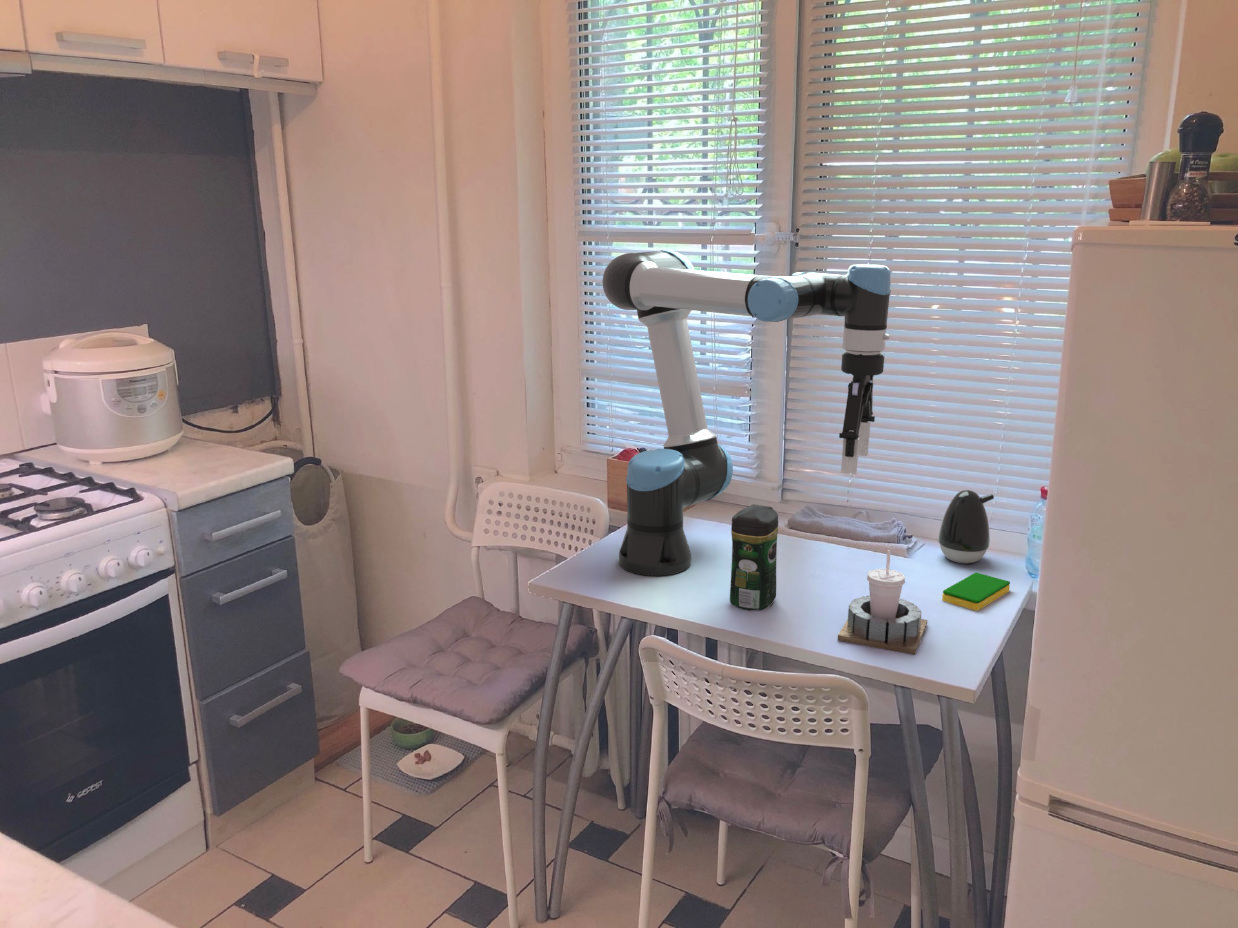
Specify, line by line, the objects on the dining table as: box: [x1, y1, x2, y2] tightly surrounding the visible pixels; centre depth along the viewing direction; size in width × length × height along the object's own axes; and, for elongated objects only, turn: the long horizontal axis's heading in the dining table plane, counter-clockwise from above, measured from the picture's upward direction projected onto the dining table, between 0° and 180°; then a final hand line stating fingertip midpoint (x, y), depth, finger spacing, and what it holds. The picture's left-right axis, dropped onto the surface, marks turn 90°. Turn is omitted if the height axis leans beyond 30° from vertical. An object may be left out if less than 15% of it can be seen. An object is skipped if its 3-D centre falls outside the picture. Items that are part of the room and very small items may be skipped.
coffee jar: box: [729, 504, 779, 612], centre depth 180 cm, size 10×8×19 cm
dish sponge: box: [941, 572, 1011, 612], centre depth 185 cm, size 7×14×2 cm, turn 134°
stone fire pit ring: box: [837, 595, 929, 656], centre depth 169 cm, size 13×13×4 cm
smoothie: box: [866, 549, 906, 619], centre depth 168 cm, size 6×6×14 cm
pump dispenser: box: [937, 489, 995, 564], centre depth 202 cm, size 10×10×15 cm
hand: (854, 463), depth 181 cm, fingers open, 13 cm apart
